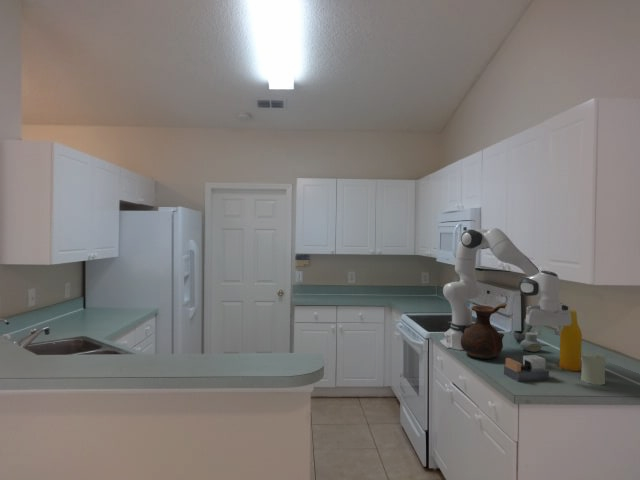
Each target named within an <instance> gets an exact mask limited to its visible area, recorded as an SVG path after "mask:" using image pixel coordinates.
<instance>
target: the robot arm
mask: <svg viewBox="0 0 640 480" xmlns="http://www.w3.org/2000/svg"><path fill="white" fill-rule="evenodd" d="M485 249H489V250H490V251H491V253H492V254H493V256H494V258H497V260H498V261H500V262H502V263H503V264H504V263H505V264H510V265H513V266H516V267H517V268H519V269H520V270H521V271H522V272H523V273H524V274H525V275H526V276H525V277H522V278H521V279H520V280H519V281H518V290H519V292H520V293H521V295H523V296H525V297H537V305H528V306H527V307H526V309H525V310H526V312H525V313H526V315H525V324H526V325H527V326H528V325H532V326H533V327H532V328H533V330H534V332H535V333H536V335H537V336H541V331H540V330H539V329H538V328H539V326H544V327H545V326H546V327H547V326H549V327H553V326H554V327H557V330H555V331H554V332H555V333H554V334H555V335H556V336H560V332H561V330H562V329H563V326H570V325H571V313H570V312H569V310H571V306H570V305H567V304H564V303H562V302H560V298H559V297H560V296H559V293H560V279H559V278H560V277H559V276H558V274H557V273H556V272H553V271H549V270H540V269H539V268H538V267H537V265H535V264H534V262H533V261H531V259H529V257H528V256H526V255H525V253H523V252H522V251H521V250H520V249H519V248H518V247H517V246H516V245H515V244H514V243H513V241H512V240H511V239H510V237H508V236H507V234H506V233H505V232H504V231H502V230H501V229H500V228H497V227H493V228H490V229H485V228H478V229H477V228H476V229H467V230H465V231H463V232H462V234H461V235H460V241H459V243H458V245H457V248H456V255H455V262H454V263H455V265H454V271H455V273H456V274H457V275H458V276H459V281H452V282H448V283H446V284H444V286H443V288H442V293H443V296H444V298H445V299H446V300H447V301H448V303H449V304H450V308H451V322H450V324H449V325H450V328H449V329H447V331H445V332H444V334H443V338H442V339H440V340H439V342H440V343H441V344H442V346H444V347H445V348H447V349H453V350H459V351H465V350H464V349H463V348H462V346H461V337H462V335H463V333H464V332H465V331H466V330H467V329H468V328H469V327H470V326H471V325H473V324H474V323H473V310H472V309H471V307H468V305H467V301H468V300H471V301H472V300H475V299H477V298H480V297H481V295H482V293H483V288H482V285H481V283H479V281H478V280H477V277H476V260H477V252H478V251H479V250H485ZM538 269H539V270H540V271H541V272H539V270H538Z"/></svg>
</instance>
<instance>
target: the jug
mask: <svg viewBox="0 0 640 480" xmlns="http://www.w3.org/2000/svg"><path fill="white" fill-rule="evenodd" d="M506 307H507V303H501V304H498V305H497V306H495V307H492V306H489V305H473V306H471V307H470V309H471V310H472V312H473V311H474V312H475V315H476V318H475V319H476V320H475V323H472V324H473V325H471V326H470V327H469V328H468V329H467V330H466V331H465V332H464V333H463V335H462V337H461V346H462V348H463V349H464V350H463V351H464V352H465V353H466V354H467V355H469V356H470V357H473V358H476V359H480V360H481V359H482V360H484V359H485V360H489V359H492V358H494V357H496V356H497V357H498V356H499V355H500V354H501V352H502V351H503V348H504V343H503V338H504V337H505V334H504V333H501V332H499V331H498V330H497V329H496V328H495V327H494V326H493V325H492V324H491V316H492V315H493V314H495V313H497V312H498V311H499V310H500V309H506Z"/></svg>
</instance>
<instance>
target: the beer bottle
mask: <svg viewBox="0 0 640 480" xmlns="http://www.w3.org/2000/svg"><path fill="white" fill-rule="evenodd" d="M569 312H570V313H571V325H570V326H563V329H562V330H561V332H560V335H559V364H558V365H559V367H560V368H561V369H562V370H565V371H570V372H580V371H582V338H583V337H582V336H583V335H582V330H581V328H580V326H579V324H578V315H577V311H576V310H572V309H570V310H569Z"/></svg>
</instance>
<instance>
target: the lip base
mask: <svg viewBox="0 0 640 480" xmlns="http://www.w3.org/2000/svg"><path fill="white" fill-rule="evenodd" d="M503 375H505V376H507V377H508V378H510V379H513V380H514V381H516V382H519V383H521V382H536V381H546V380H547V381H549V380H550V371H549V370H547V369H546V368H545V370H531V364H525V365H523V364H522V363H521V362H519V361H517V360H515V359H513V358H511V357H506V358H505V365H503Z"/></svg>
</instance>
